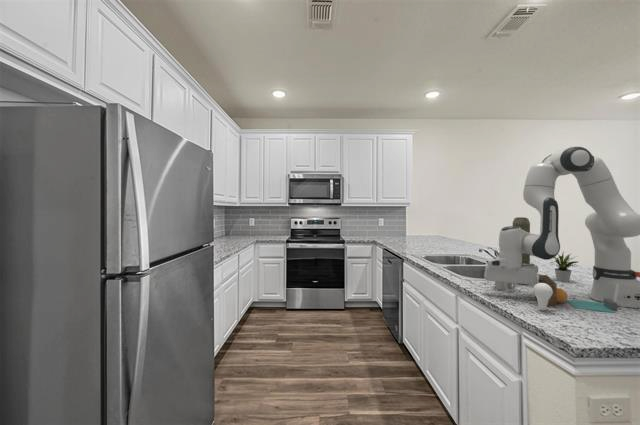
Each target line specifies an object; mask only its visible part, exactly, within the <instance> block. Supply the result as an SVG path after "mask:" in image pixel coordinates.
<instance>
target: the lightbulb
mask: <svg viewBox="0 0 640 425" xmlns="http://www.w3.org/2000/svg"><path fill="white" fill-rule="evenodd" d="M532 290H533V291H532V292H533V294H534V295H535V297H536V299H537V304H538V309H539V310H540V311H543V312H544V311H546V310H547V307H548V306H547V305H548V300H549V298H550V297H551V296H552V294H553V291H552V288H551V287H550V286H549V285H548V284H545V283H538V284H536V285H533V288H532Z"/></svg>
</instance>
